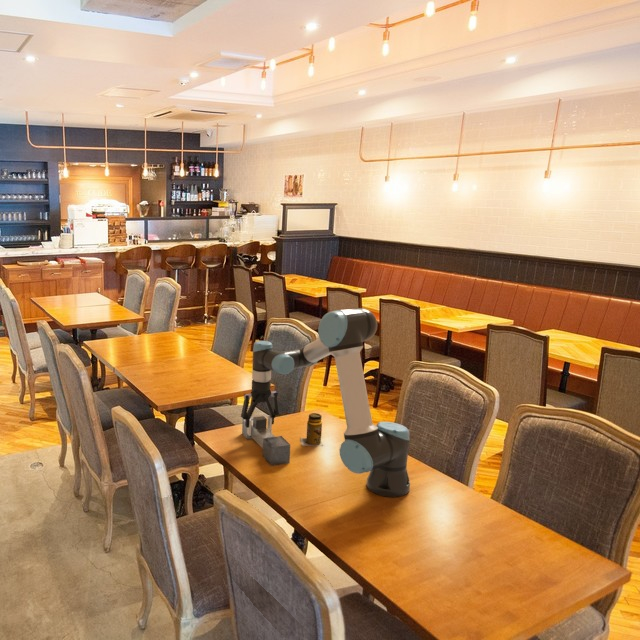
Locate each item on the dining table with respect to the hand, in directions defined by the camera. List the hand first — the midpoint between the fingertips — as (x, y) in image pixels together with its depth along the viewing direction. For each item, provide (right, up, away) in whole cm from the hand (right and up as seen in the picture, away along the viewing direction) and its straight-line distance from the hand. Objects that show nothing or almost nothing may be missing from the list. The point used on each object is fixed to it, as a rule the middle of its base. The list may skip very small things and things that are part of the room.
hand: (259, 433), depth 241 cm
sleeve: (+8, -7, -15) cm, 18 cm away
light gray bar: (+1, -3, -2) cm, 4 cm away
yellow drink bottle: (+21, -5, +3) cm, 22 cm away
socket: (-3, -2, +7) cm, 8 cm away
